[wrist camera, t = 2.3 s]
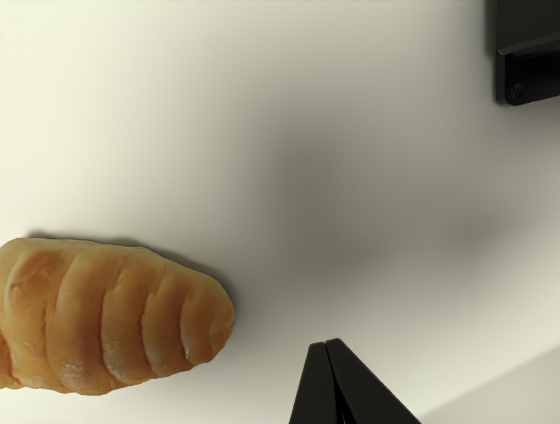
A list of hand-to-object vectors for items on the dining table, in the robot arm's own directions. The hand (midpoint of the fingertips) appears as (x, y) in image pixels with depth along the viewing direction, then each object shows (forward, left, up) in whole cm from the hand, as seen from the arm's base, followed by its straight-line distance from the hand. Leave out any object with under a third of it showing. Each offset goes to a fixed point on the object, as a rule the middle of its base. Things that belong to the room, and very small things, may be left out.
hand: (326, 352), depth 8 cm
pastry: (+9, 0, -6) cm, 10 cm away
